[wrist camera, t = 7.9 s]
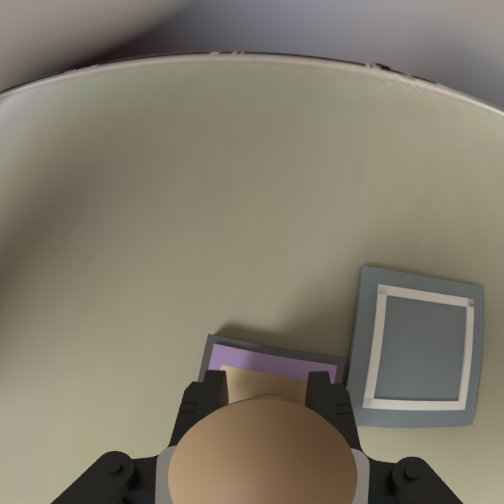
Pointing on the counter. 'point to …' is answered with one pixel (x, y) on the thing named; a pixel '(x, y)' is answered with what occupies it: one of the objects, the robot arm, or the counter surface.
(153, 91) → the counter surface
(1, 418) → the counter surface
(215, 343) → the ink pad
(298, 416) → the stamp
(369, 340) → the print board
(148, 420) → the counter surface
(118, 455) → the robot arm
